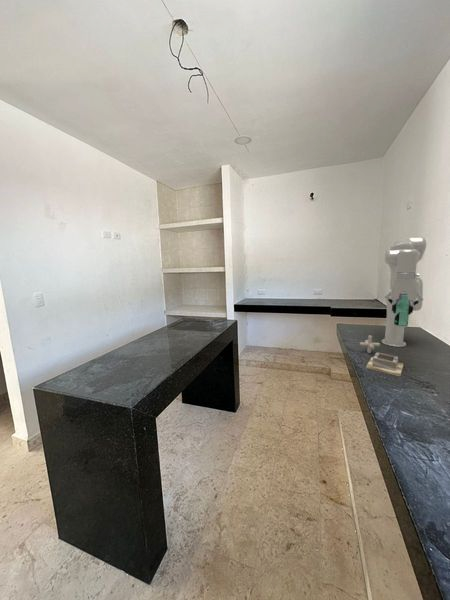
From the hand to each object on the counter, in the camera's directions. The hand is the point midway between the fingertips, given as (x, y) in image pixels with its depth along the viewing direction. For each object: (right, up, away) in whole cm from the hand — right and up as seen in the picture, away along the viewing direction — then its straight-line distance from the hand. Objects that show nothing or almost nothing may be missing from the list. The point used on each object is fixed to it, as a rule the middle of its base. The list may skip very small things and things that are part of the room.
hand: (401, 312), depth 118 cm
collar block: (-5, -28, +4) cm, 28 cm away
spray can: (0, -7, +1) cm, 7 cm away
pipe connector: (-2, -24, +23) cm, 33 cm away
